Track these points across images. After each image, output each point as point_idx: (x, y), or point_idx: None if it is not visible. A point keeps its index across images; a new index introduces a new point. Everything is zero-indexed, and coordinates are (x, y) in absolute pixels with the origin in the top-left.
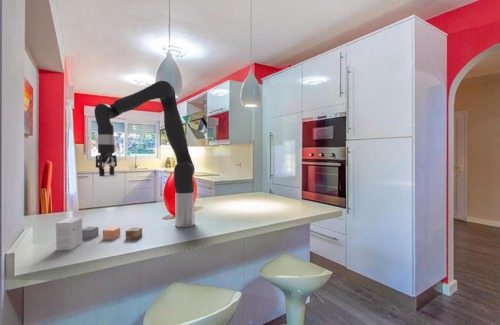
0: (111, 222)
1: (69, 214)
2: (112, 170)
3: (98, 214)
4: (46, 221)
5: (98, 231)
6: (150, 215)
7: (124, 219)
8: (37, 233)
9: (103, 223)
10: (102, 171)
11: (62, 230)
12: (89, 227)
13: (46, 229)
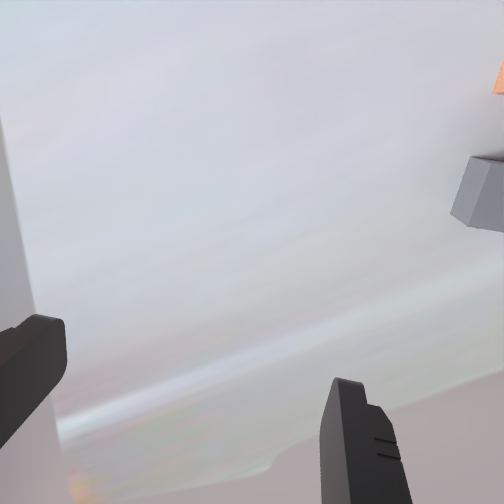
0: (207, 194)
1: (68, 429)
2: (3, 387)
3: None
4: (187, 457)
5: (480, 159)
6: (25, 2)
7: (140, 145)
8: None
9: (227, 227)
10: (387, 469)
11: None
12: (488, 209)
13: (312, 411)
